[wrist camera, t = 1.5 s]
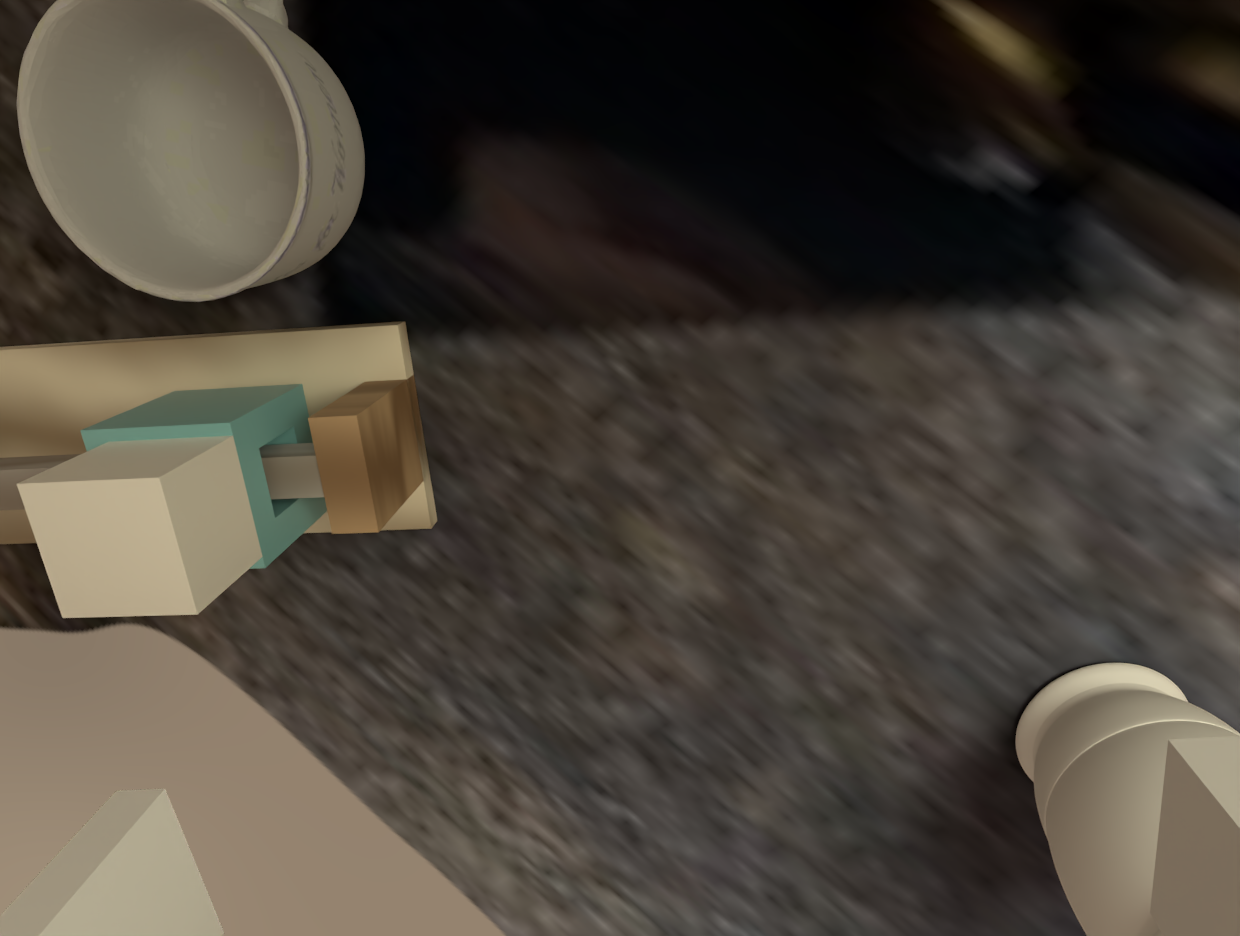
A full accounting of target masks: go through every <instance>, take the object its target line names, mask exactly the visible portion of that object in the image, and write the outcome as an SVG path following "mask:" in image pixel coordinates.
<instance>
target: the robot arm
mask: <svg viewBox="0 0 1240 936" xmlns="http://www.w3.org/2000/svg"><path fill="white" fill-rule="evenodd" d="M1150 914H1151V916H1152V917H1153V919H1154V921H1155V922H1156V924H1157V926H1158V927H1159V929H1160V931H1161V932H1162V934H1163V936H1240V737H1239V736H1229V737H1209V738H1188V739H1168V746H1167V755H1166V765H1165V774H1164V784H1163V793H1162V802H1161V812H1160V821H1159V831H1158V840H1157V850H1156V859H1155V869H1154V878H1153V888H1152V897H1151V907H1150ZM223 934H224V931H223V929H222V927H221V924H220V921H219V919H218V917H217V914H216V912H215V909H214V907H213V905H212V902H211V899H210V897H209V895H208V892H207V890H206V888H205V885H204V882H203V880H202V878H201V875H200V873H199V870H198V868H197V865H196V863H195V860H194V858H193V855H192V853H191V851H190V848H189V846H188V843H187V841H186V838H185V836H184V833H183V831H182V829H181V826H180V824H179V821H178V819H177V816H176V814H175V811H174V809H173V807H172V804H171V802H170V799H169V797H168V794H167V792H166V789H165V788H164V789H144V790H123V791H115V793H114V794H113V795H112V796H111V797H110V798H109V799H108V800H107V801H106V802H105V803H104V804H103V805H102V807H101V808H100V809H99V810H98V811H97V812H96V813H95V814H94V815H93V816H92V817H91V818H90V820H89V821H88V822H87V823H86V824H85V825H84V826H83V827H82V828H81V829H80V830H79V831H78V832H77V833H76V834H75V836H74V837H73V838H72V839H71V840H70V841H69V842H68V843H67V844H66V845H65V846H64V848H62V849H61V850H60V852H59V853H58V854H57V855H56V856H55V857H54V858H53V859H52V860H51V861H50V862H49V863H48V864H47V866H46V867H45V868H44V869H43V870H42V871H41V872H40V873H39V874H38V875H37V876H36V877H35V878H34V879H33V881H32V882H31V883H30V884H29V885H28V886H27V887H26V888H25V889H24V890H23V891H22V892H21V893H20V895H19V896H18V897H17V898H16V899H15V900H14V901H13V902H12V903H11V904H10V905H9V906H8V908H6V910H5V911H4V912H3V913H2V914H1V915H0V936H223Z"/></svg>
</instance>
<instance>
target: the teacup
mask: <svg viewBox="0 0 1240 936" xmlns="http://www.w3.org/2000/svg"><path fill="white" fill-rule="evenodd" d="M17 114H18V124H19V132H20V137H21V142H22V147H23V151H24V154H25V158H26V161H27V165H28V168H29V171H30V173H31V176H32V178H33V180H34V183H35V185H36V188H37V190H38V192H39V194H40V196H41V198H42V199H43V201H44V203H45V205H46V206H47V208H48V210H49V211H50V213H51V214H52V216H53V218H54V219H55V221H56V222H57V223H58V225H59V226H60V227H61V229H62V230H63V231H64V232H65V233H66V234H67V236H68V237H69V238H70V239H71V240H72V241H73V242H74V244H75V245H76V246H77V247H78V248H79V249H80V250H81V251H82V252H84V253H85V254H86V255H87V256H88V257H89V258H90V259H91V260H93V261H94V262H95V263H96V264H97V265H98V266H99V267H101V268H102V269H103V270H104V271H106V272H108V273H109V274H111V275H112V276H114V277H115V278H117V279H119V280H120V281H122V282H123V283H125V284H127V285H129V286H130V287H132V288H134V289H136V290H140V291H142V292H145V293H148V294H151V295H154V296H157V297H161V298H165V299H170V300H175V301H184V302H202V301H209V300H215V299H220V298H224V297H227V296H230V295H233V294H236V293H238V292H240V291H243V290H245V289H247V288H252V287H256V286H260V285H264V284H267V283H271V282H274V281H277V280H280V279H283V278H286V277H289V276H291V275H294V274H296V273H298V272H301V271H303V270H305V269H306V268H308V267H310V266H311V265H313V264H315V263H316V262H318V261H319V260H321V259H322V258H323V257H324V256H325V255H326V254H328V253H329V252H330V251H331V250H332V249H333V248H334V247H335V246H336V245H337V243H338V242H339V241H340V239H341V238H342V237H343V235H344V234H345V233H346V231H347V229H348V228H349V226H350V224H351V222H352V220H353V218H354V216H355V214H356V211H357V208H358V205H359V202H360V199H361V196H362V190H363V184H364V176H365V154H364V144H363V139H362V134H361V129H360V126H359V123H358V119H357V116H356V113H355V111H354V108H353V105H352V103H351V101H350V99H349V97H348V95H347V93H346V91H345V89H344V87H343V86H342V84H341V82H340V81H339V79H338V78H337V76H336V75H335V73H334V72H333V71H332V69H331V68H330V67H329V65H328V64H327V63H326V62H325V61H324V59H323V58H322V57H321V56H320V55H319V54H318V53H317V52H316V51H315V50H314V49H313V48H312V47H311V46H309V45H308V44H307V43H306V42H305V41H304V40H302V39H301V38H300V37H298V36H297V35H296V34H294V33H293V32H292V31H290V30H289V29H288V17H287V13H286V10H285V8H284V5H283V0H57V1H56V2H55V3H54V4H53V5H52V6H51V7H50V8H49V9H48V10H47V12H46V13H45V14H44V16H43V17H42V19H41V20H40V21H39V23H38V25H37V27H36V29H35V30H34V32H33V35H32V37H31V40H30V42H29V44H28V46H27V48H26V50H25V52H24V55H23V59H22V63H21V68H20V72H19V82H18V92H17Z"/></svg>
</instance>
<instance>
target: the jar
mask: <svg viewBox="0 0 1240 936" xmlns="http://www.w3.org/2000/svg"><path fill="white" fill-rule="evenodd" d="M1229 736H1239V737H1240V733H1238V732H1237V731H1236V730H1235V729H1233V728H1232V727H1230V726H1229V725H1228V724H1226V723H1225V722H1223V721H1222V720H1220V719H1219V718H1217V717H1215V716H1214V715H1212V714H1210V713H1209V712H1207V711H1205V710H1203V709H1201V708H1199V707H1197V706H1195V705H1193V704H1191V703H1188V701H1187V699H1186V697H1185V696H1184V694H1183V693H1182V691H1181V690H1180V689H1179V688H1178V687H1177V686H1176V685H1175V684H1174V683H1173V682H1172V681H1171V680H1170V679H1168V678H1167V677H1166V676H1164V675H1162V674H1160V673H1159V672H1157V671H1155V670H1152V669H1150V668H1147V667H1143V666H1140V665H1135V664H1129V663H1101V664H1095V665H1090V666H1086V667H1082V668H1079V669H1077V670H1074V671H1071V672H1069V673H1067V674H1065V675H1063V676H1061V677H1059V678H1057V679H1055V680H1054V681H1052V682H1051V683H1049V684H1048V685H1047V686H1046V687H1044V688H1043V689H1042V690H1041V691H1040V692H1039V693H1038V694H1037V695H1036V696H1035V697H1034V698H1033V699H1032V700H1031V701H1030V703H1029V704H1028V705H1027V707H1026V709H1025V710H1024V712H1023V714H1022V716H1021V718H1020V720H1019V723H1018V726H1017V730H1016V739H1015V745H1016V752H1017V757H1018V760H1019V762H1020V764H1021V766H1022V768H1023V770H1024V771H1025V773H1026V774H1027V776H1028V777H1029V778H1030V779H1031V780H1032V781H1033V782H1034V793H1035V800H1036V805H1037V809H1038V813H1039V817H1040V820H1041V824H1042V827H1043V829H1044V832H1045V835H1046V837H1047V840H1048V842H1049V847H1050V851H1051V855H1052V859H1053V862H1054V865H1055V868H1056V871H1057V874H1058V877H1059V880H1060V882H1061V885H1062V887H1063V890H1064V892H1065V894H1066V897H1067V899H1068V901H1069V903H1070V905H1071V907H1072V909H1073V911H1074V913H1075V915H1076V917H1077V919H1078V921H1079V923H1080V924H1081V926H1082V928H1083V930H1084V931H1085V933H1086V935H1087V936H1163V934H1162V932H1161V931H1160V929H1159V927H1158V926H1157V924H1156V922H1155V921H1154V919H1153V917H1152V916H1151V914H1150V907H1151V897H1152V888H1153V878H1154V869H1155V859H1156V850H1157V840H1158V831H1159V821H1160V812H1161V802H1162V793H1163V784H1164V774H1165V765H1166V755H1167V746H1168V739H1188V738H1209V737H1229Z"/></svg>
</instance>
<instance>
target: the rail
mask: <svg viewBox="0 0 1240 936" xmlns="http://www.w3.org/2000/svg"><path fill="white" fill-rule="evenodd" d="M290 384H302V385H303V390H304V395H305V400H306V404H307V409H308V414H309V417H308V421H309V426H310V431H311V436H312V440H313V443H299V444H278V445H263V446H262V447H260V448H259V451H260V455H261V459H262V464H263V468H264V472H265V476H266V481H267V485H268V489H269V493H270V498H271V499H293V498H317V497H325V502H326V507H327V512H325V513H324V514H323V515H322V516H321V517H320V518H319V519H318V520H317V521H316V522H315V523H314V524H313V525H311V526H310V527H309V528H308V529H307V530H306V531H305V532H304V533H322V532H332V534H344V533H371V532H379V531H380V530H405V529H431V528H432V527H433V526H434V524H435V523H436V522H437V515H436V509H435V503H434V496H433V490H432V484H431V478H430V472H429V466H428V459H427V453H426V447H425V441H424V435H423V429H422V422H421V416H420V410H419V404H418V398H417V392H416V385H415V379H414V373H413V367H412V361H411V355H410V348H409V342H408V336H407V330H406V324H405V321H403V322H387V323H371V324H355V325H340V326H324V327H308V328H292V329H276V330H261V331H245V332H229V333H213V334H198V335H182V336H166V337H150V338H134V339H119V340H103V341H87V342H71V343H56V344H40V345H24V346H8V347H0V544H20V543H37V542H36V539H35V536H34V534H33V531H32V528H31V525H30V522H29V519H28V516H27V513H26V510H25V507H24V504H23V501H22V499H21V496H20V493H19V490H18V487H17V483H20V482H22V481H24V480H26V479H28V478H30V477H33V476H35V475H37V474H39V473H41V472H44V471H46V470H48V469H50V468H52V467H54V466H57V465H59V464H61V463H63V462H65V461H68V460H70V459H72V458H74V457H76V456H78V455H81V454H83V453H85V452H87V451H86V448H85V444H84V441H83V438H82V435H81V431H80V430H82V429H85V428H87V427H90V426H92V425H94V424H97V423H99V422H101V421H104V420H106V419H109V418H111V417H113V416H116V415H118V414H121V413H123V412H125V411H128V410H130V409H133V408H135V407H137V406H140V405H142V404H145V403H147V402H149V401H152V400H154V399H156V398H159V397H161V396H164V395H166V394H168V393H171V392H173V391H183V390H201V389H219V388H237V387H255V386H272V385H290Z"/></svg>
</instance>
